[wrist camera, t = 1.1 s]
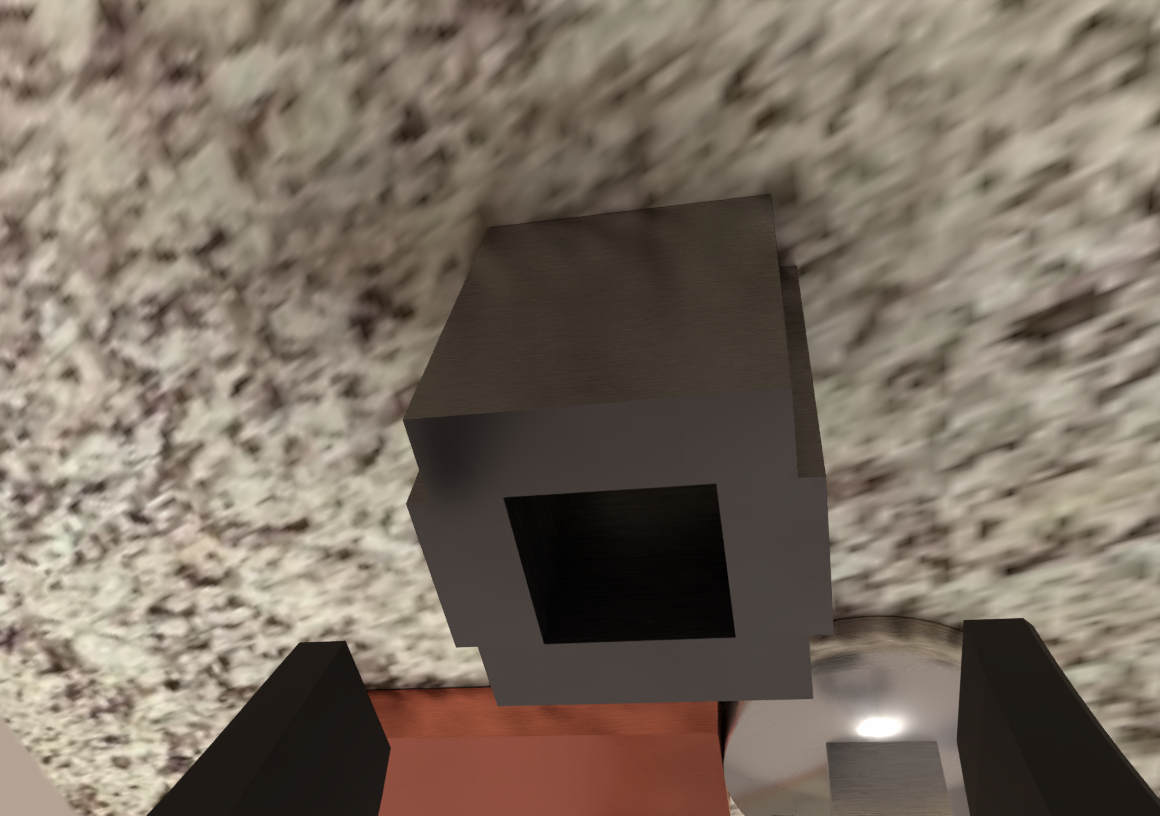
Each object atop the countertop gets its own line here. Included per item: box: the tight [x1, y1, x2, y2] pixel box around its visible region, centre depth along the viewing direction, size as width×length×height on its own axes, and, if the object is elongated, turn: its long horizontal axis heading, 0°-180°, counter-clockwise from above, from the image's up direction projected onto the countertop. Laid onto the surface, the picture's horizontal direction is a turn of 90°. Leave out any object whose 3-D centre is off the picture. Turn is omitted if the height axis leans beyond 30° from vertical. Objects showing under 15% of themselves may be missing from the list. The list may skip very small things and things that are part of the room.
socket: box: [403, 195, 834, 706], centre depth 17 cm, size 6×6×6 cm
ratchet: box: [367, 617, 970, 816], centre depth 24 cm, size 7×19×4 cm, turn 100°
